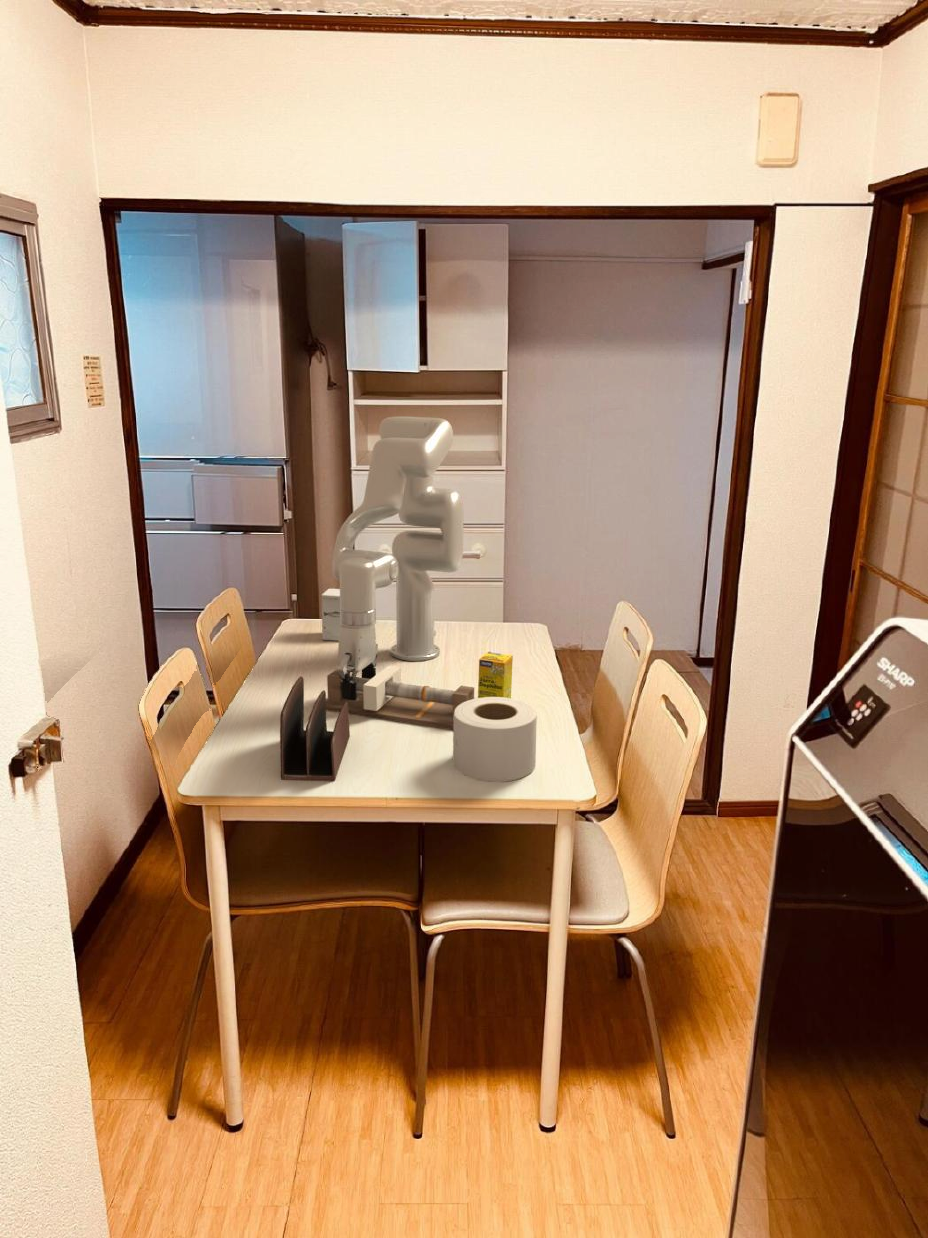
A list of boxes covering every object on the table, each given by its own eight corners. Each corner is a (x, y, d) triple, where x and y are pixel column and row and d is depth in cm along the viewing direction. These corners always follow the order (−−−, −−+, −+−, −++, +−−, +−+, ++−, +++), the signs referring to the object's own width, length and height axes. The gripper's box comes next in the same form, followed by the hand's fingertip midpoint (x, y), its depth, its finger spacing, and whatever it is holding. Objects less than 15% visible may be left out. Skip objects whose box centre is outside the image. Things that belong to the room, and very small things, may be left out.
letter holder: (280, 781, 166) (277, 708, 162) (300, 736, 185) (298, 670, 181) (335, 782, 166) (333, 709, 162) (350, 737, 185) (349, 671, 181)
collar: (388, 688, 206) (388, 665, 204) (400, 690, 205) (400, 667, 203) (363, 709, 194) (363, 685, 192) (376, 711, 193) (376, 686, 191)
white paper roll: (446, 778, 168) (447, 723, 165) (461, 743, 182) (462, 693, 179) (531, 786, 165) (533, 730, 162) (538, 750, 180) (541, 699, 177)
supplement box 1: (321, 640, 244) (320, 594, 240) (330, 632, 251) (328, 587, 247) (348, 642, 243) (347, 596, 239) (356, 634, 250) (355, 589, 246)
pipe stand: (345, 690, 209) (344, 663, 207) (478, 710, 199) (479, 681, 197) (320, 709, 198) (319, 680, 196) (460, 731, 188) (461, 701, 186)
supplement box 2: (477, 706, 201) (478, 659, 198) (486, 697, 207) (487, 650, 204) (503, 710, 199) (504, 662, 196) (511, 700, 205) (513, 654, 202)
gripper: (359, 604, 205) (360, 676, 210) (323, 625, 189) (325, 703, 194) (390, 608, 203) (391, 681, 207) (356, 629, 187) (357, 708, 192)
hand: (359, 691), depth 201 cm, fingers open, 9 cm apart
